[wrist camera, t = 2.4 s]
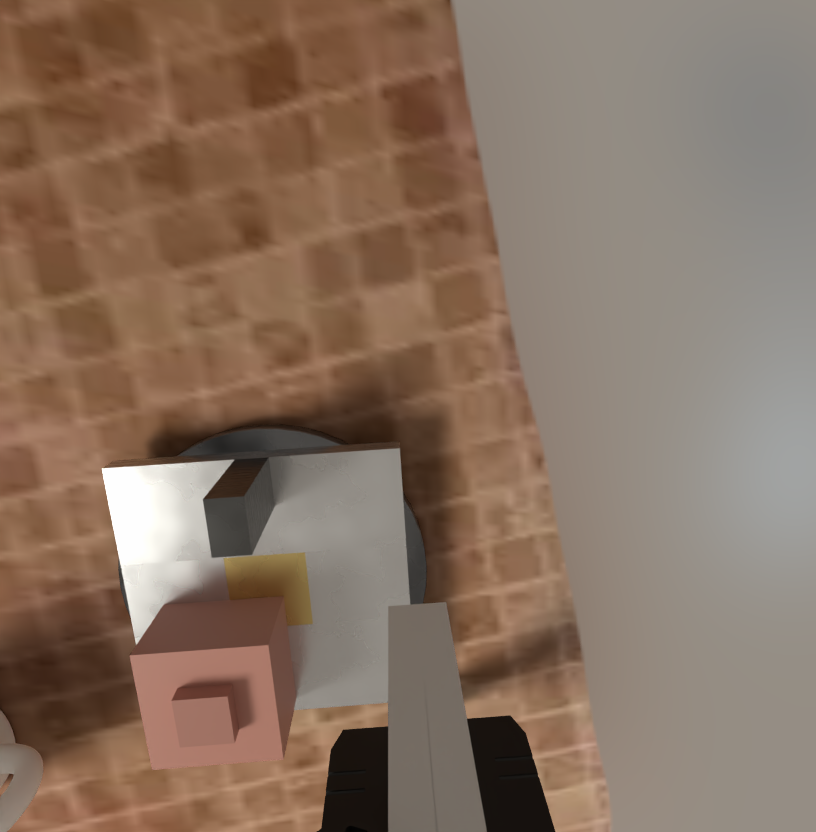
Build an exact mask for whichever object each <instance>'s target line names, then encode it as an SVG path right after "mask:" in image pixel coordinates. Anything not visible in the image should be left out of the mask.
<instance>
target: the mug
mask: <svg viewBox="0 0 816 832" xmlns="http://www.w3.org/2000/svg"><path fill="white" fill-rule="evenodd" d="M9 774H14V776H13V779H12V781H11V783H10V784H9V786H8V787H7V789H6V790H5V792H4V793H3V794H2V796H1V797H0V832H7V831H8V830H9V829H10V828H11V827H12V826H13V825H14V823H15V822H16V821H17V820H18V819H19V818H20V816H21V815H22V814H23V813H24V811H25V810H26V808H27V807H28V806H29V804H30V803H31V801H32V799H33V798H34V796H35V794H36V792H37V790H38V787H39V785H40V783H41V780H42V776H43V760H42V758H41V755H40V754H39V753H38V751H36V750H35V749H34V748H32V747H30V746H27V745H24V744H17V743H15V737H14V734H13V730H12V728H11V726H10V723H9V721H8V720H7V718H6V716H5V715H4V714H3V712H2V711H1V710H0V788H1V787H2V785H3V784H4V782H5V781H6V779H7V777H8V775H9Z"/></svg>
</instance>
